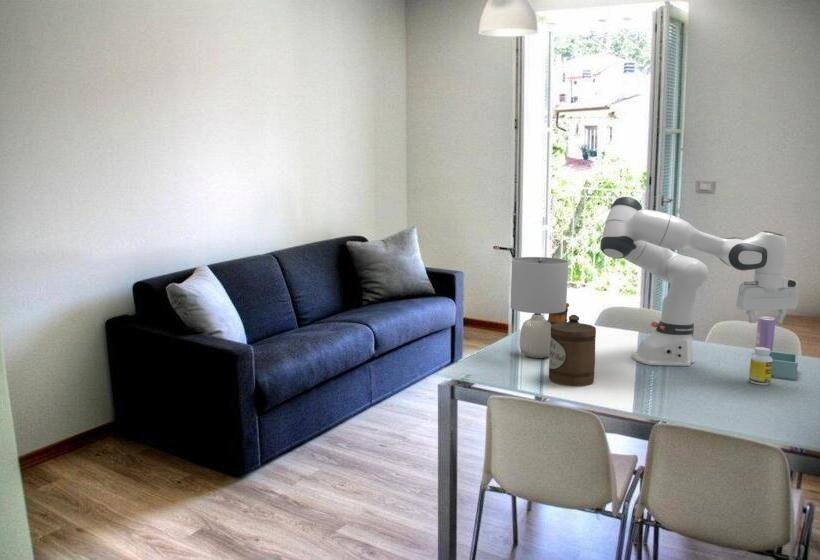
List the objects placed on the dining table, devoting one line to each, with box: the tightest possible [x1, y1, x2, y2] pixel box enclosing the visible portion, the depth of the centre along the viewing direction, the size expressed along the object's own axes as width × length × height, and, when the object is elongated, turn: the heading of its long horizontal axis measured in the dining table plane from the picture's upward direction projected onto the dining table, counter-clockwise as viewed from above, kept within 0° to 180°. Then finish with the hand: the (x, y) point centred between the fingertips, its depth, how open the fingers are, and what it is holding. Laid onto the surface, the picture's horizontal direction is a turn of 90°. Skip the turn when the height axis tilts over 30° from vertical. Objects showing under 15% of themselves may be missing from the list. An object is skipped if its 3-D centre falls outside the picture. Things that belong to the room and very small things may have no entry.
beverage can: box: [754, 315, 776, 352], centre depth 272 cm, size 6×6×15 cm
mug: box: [547, 302, 570, 325], centre depth 312 cm, size 13×10×12 cm
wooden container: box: [548, 314, 597, 387], centre depth 237 cm, size 15×15×22 cm
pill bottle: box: [748, 347, 773, 386], centre depth 238 cm, size 6×6×12 cm
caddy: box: [753, 350, 799, 381], centre depth 250 cm, size 14×14×6 cm
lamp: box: [509, 256, 569, 359], centre depth 266 cm, size 20×20×37 cm
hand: (765, 322), depth 235 cm, fingers open, 8 cm apart
